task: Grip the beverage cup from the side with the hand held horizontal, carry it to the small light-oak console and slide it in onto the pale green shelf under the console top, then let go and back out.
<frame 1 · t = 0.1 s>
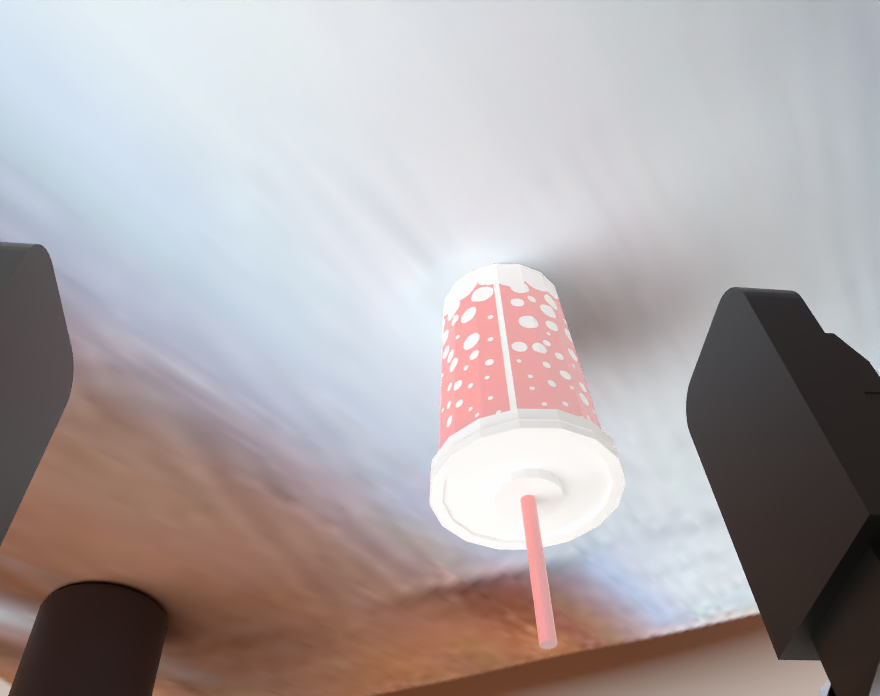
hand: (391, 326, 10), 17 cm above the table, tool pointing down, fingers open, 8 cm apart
bottle: (107, 609, 46), on the table
beverage cup: (500, 307, 33), on the table
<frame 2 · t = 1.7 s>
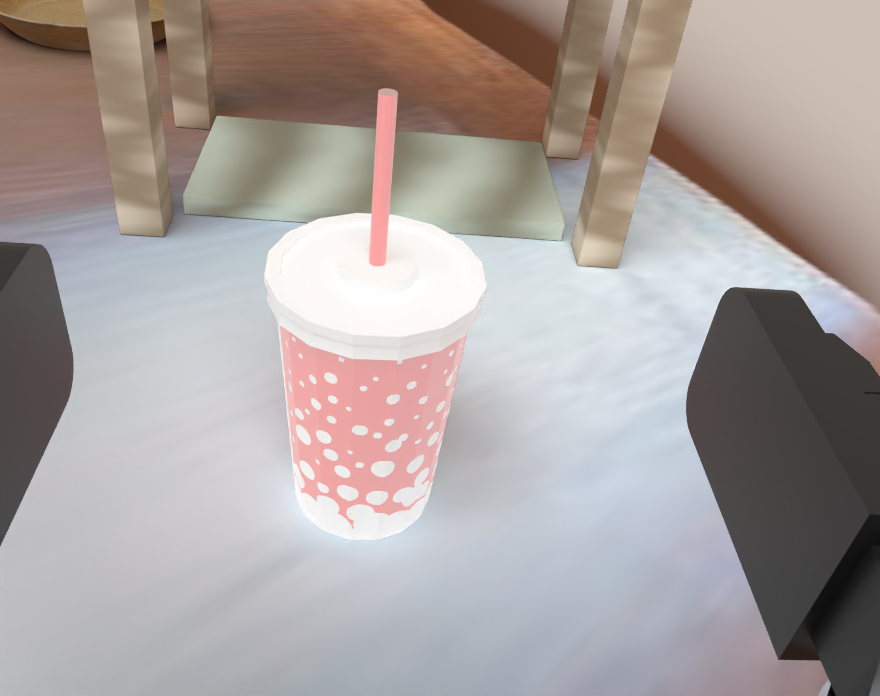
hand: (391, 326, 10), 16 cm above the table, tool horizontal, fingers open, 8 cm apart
beverage cup: (362, 490, 29), on the table
plant saucer: (96, 30, 60), on the table
console: (378, 182, 46), on the table
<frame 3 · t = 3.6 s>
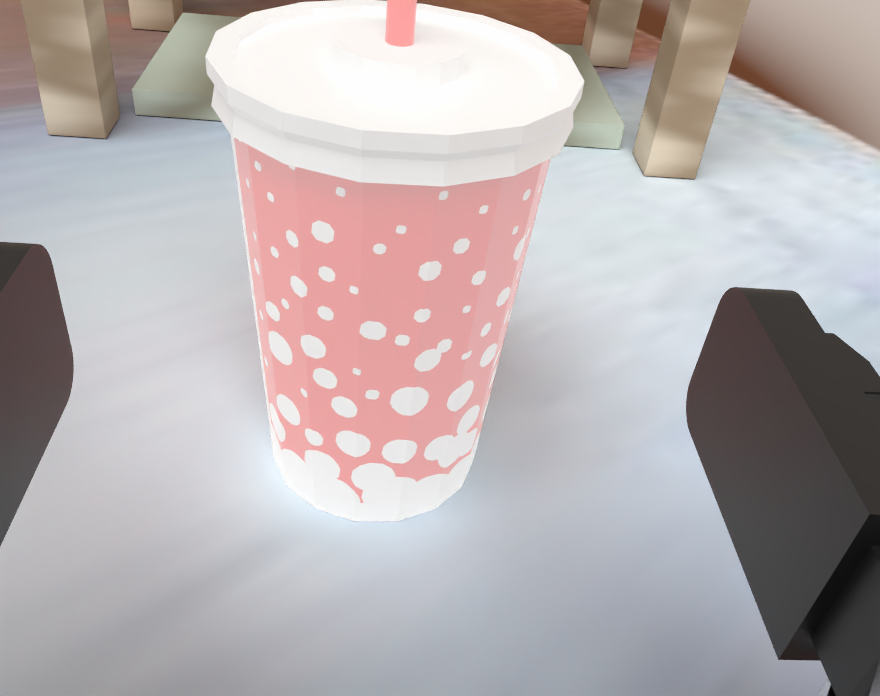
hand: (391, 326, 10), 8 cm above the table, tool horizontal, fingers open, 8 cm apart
beverage cup: (374, 450, 19), on the table
console: (384, 87, 36), on the table
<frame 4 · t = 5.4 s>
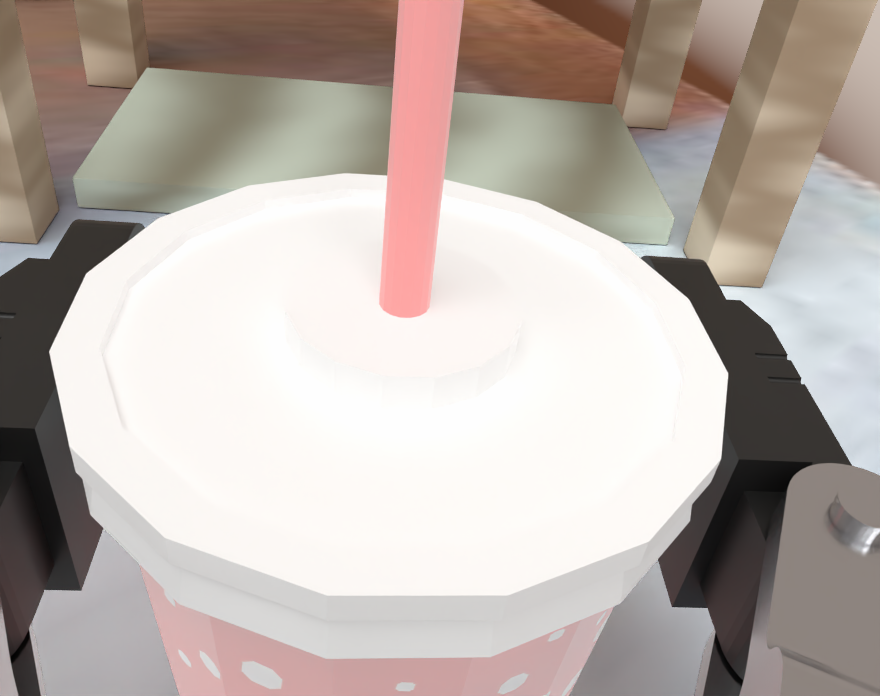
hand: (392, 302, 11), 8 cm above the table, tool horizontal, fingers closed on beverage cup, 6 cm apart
console: (383, 161, 31), on the table
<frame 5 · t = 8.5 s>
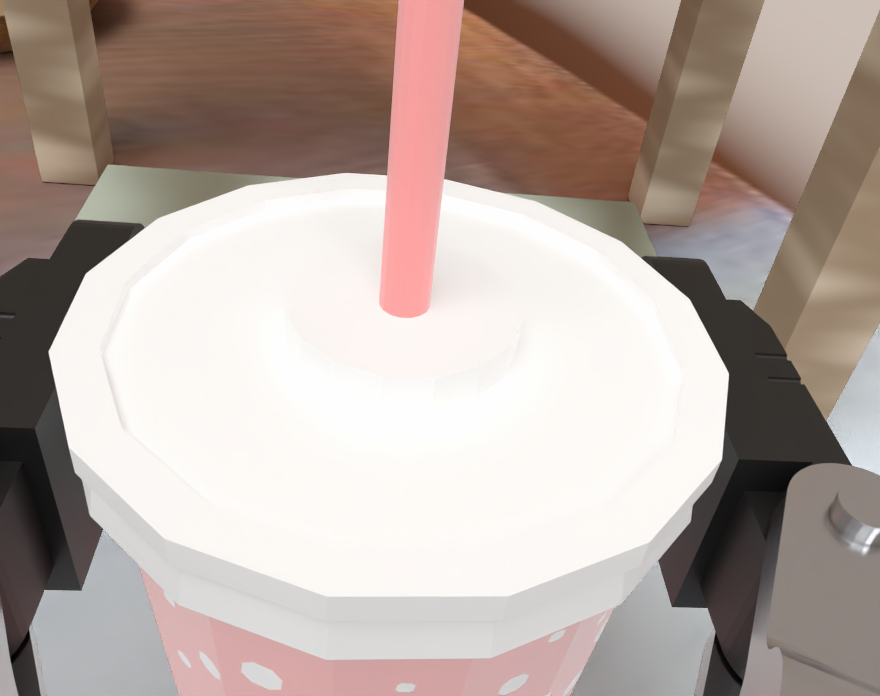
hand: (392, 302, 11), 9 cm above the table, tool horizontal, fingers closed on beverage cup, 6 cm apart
console: (373, 281, 27), on the table
when the fingers open (9 cm above the table, at t = 11.9 s): beverage cup stays where it is, resting on console.
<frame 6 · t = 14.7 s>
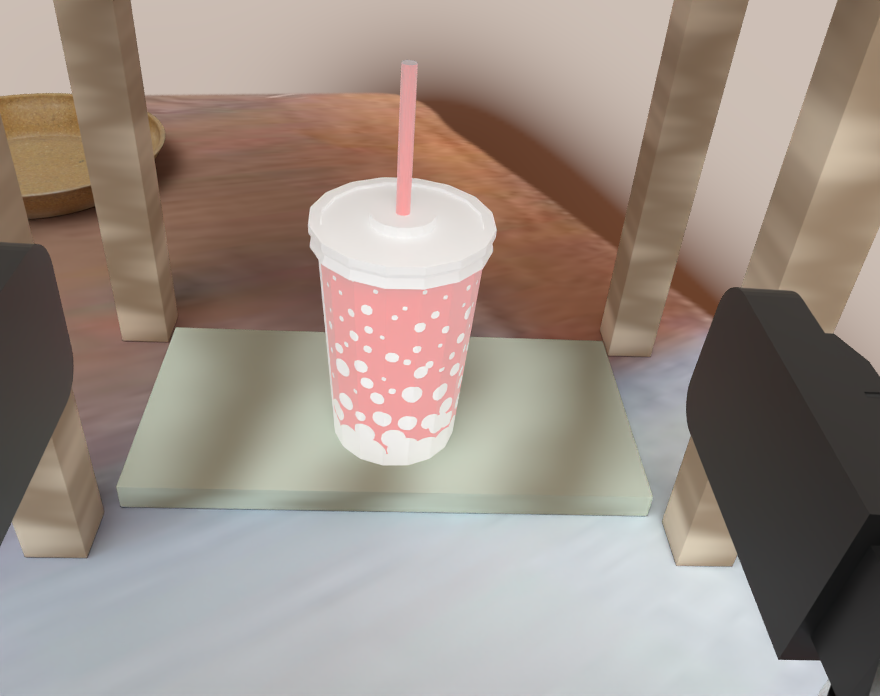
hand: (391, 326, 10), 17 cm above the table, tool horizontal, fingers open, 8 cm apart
beverage cup: (393, 427, 32), point 1 cm above the table, touching console
plant saucer: (41, 182, 49), on the table
console: (391, 422, 34), on the table
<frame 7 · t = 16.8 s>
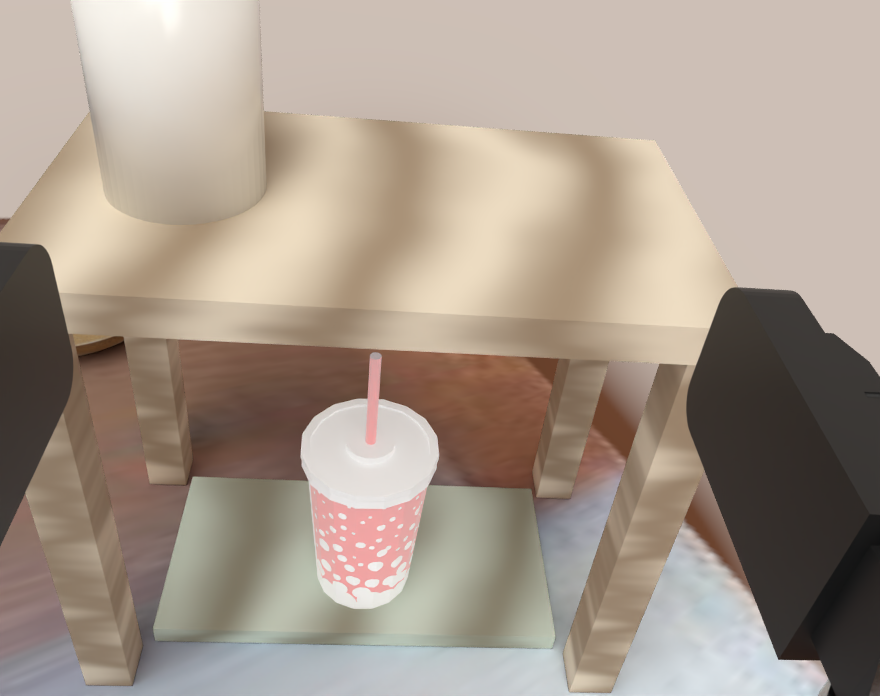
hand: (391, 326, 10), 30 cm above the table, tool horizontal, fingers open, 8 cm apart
candle: (186, 185, 30), point 22 cm above the table, touching console
beverage cup: (362, 572, 42), point 1 cm above the table, touching console
plant saucer: (73, 313, 58), on the table
console: (361, 563, 44), on the table
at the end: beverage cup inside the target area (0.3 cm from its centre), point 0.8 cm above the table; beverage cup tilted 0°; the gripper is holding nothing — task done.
